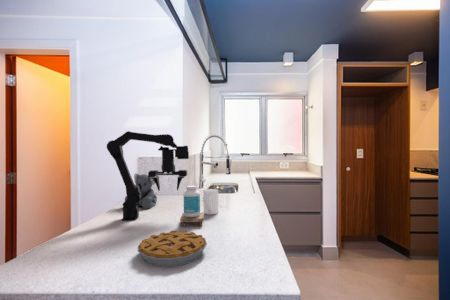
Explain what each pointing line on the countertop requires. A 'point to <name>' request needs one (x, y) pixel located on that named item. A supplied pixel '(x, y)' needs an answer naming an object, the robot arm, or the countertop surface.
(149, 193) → the koala plush
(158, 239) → the pie
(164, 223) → the countertop surface
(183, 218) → the square wooden stand
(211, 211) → the mug
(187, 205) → the pill bottle
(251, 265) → the countertop surface
